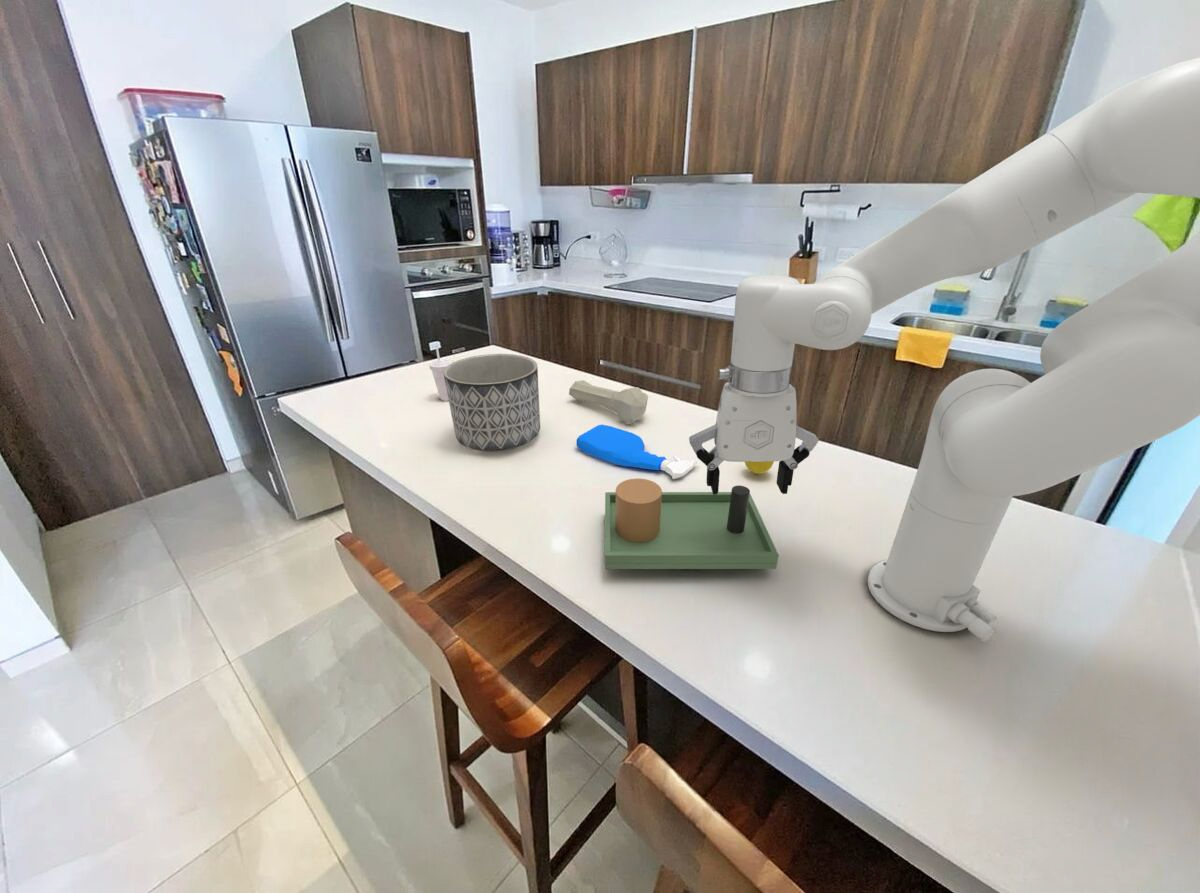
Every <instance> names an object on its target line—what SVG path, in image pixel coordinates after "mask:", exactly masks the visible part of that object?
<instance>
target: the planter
mask: <svg viewBox="0 0 1200 893" xmlns="http://www.w3.org/2000/svg"><path fill="white" fill-rule="evenodd" d="M538 368H539V367H538V363H537V362H536V360H534V359H533V358H530V357H527V356H525V355H520V354H513V353H488V354H479V355H473V356H469V357H465V358H462V359H458V360H456V361H454V363H452V364H450V365H448V366H447V367H446V368H445V369H444V372H443V374H444V379H445V384H446V389H447V394H448V399H449V400H448V405H449V410H450V413H451V418H452V426H453V429H454V435H455V438H456V440H457V441H458V443H460V444H461V445H462V446H463V447H466V448H468V449H472V450H475V451H483V452H499V451H506V450H511V449H514V448H518V447H522V446H524V445H526V444H528V443H531V441H533V440H534V439H535V438H536V437H537V436H538V435H539V434H540V430H541V414H540V413H541V412H540V392H539V370H538Z"/></svg>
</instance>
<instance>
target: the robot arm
mask: <svg viewBox="0 0 1200 893" xmlns="http://www.w3.org/2000/svg"><path fill="white" fill-rule="evenodd" d="M1136 194H1152V195H1154V194H1155V195H1163V196H1164V195H1165V196H1177V197H1185V198H1186V197H1187V198H1188V197H1189V198H1198V199H1199V198H1200V56H1198V57H1196V58H1191V59H1187V60H1184V61H1181V62H1177V63H1175V64H1172V65H1170V66H1167V67H1164V68H1162V69H1160V70H1157V71H1154V72H1151V73H1150V74H1149V73H1148V74H1147V75H1143V76H1141V77H1139V78H1136V79H1134V80H1132V81H1130V82H1128V83H1126V84H1124V85H1122V86H1120V87H1118V88H1116V89H1115V90H1113V91H1111V92H1109V93H1108V94H1106V95H1104V96H1103V97H1101V98H1099V99H1098V100H1096V101H1095V102H1093V103H1091V104H1090V105H1088V106H1087V107H1085V108H1084V109H1082V110H1081V111H1079V112H1077V113H1076V114H1074V115H1072V117H1069V118H1068V119H1067V120H1065V121H1063V122H1062V123H1061V124H1059V125H1057V126H1056V127H1054V128H1051V130H1049V131H1048V132H1046V133H1045V134H1042V135H1041V136H1040V137H1038V138H1037V139H1035V140H1033V141H1032V142H1030V143H1028V144H1027V145H1025V146H1024V147H1022V148H1021V149H1020V150H1018V151H1016V152H1014V153H1013V154H1011V155H1010V156H1008V157H1006V158H1005V159H1003V160H1002V161H1001V162H999V163H997V164H996V165H994V166H993V167H991V168H990V169H988V170H986V171H984V172H983V173H981V174H979V175H978V176H977V177H975V178H974V179H973V178H972V179H971V180H970V181H969V182H967V183H965V184H964V185H962V186H960V187H959V188H957V189H956V190H954V191H952V192H951V193H950V194H948V195H946V196H945V197H943V198H941V199H940V200H938V201H937V202H935V203H933V204H932V205H931V206H928V207H927V208H926V209H925V210H923V211H922V212H921V213H919V214H917V215H916V216H915V217H913V218H911V219H910V220H908V221H907V222H905V223H904V224H901V225H900V226H898V227H897V228H896V229H894V230H892V231H891V232H888V233H887V234H886V235H884V236H882V237H881V238H879V239H878V240H876V241H874V242H873V243H871V244H870V245H867V246H866V247H865V248H863V249H861V250H860V251H859V252H857V253H855V254H854V255H852V256H850V257H849V258H847V259H846V260H844V261H843V262H841V263H839V264H838V265H836V266H834V267H833V268H832V269H830V270H828V271H827V272H825V273H824V274H822V275H821V276H820V277H819V278H818V279H817V280H816V281H814V282H813V283H803V284H802V283H800V281H799V280H798V279H796V278H794V277H791V276H788V275H778V274H777V275H776V274H761V275H754V276H753V275H752V276H748V277H746V278H744V279H742V280H741V281H740V282H739V284H738V285H737V287H736V291H735V302H734V315H733V325H732V326H733V329H732V341H731V352H730V353H731V354H730V361H728V362H729V364H728V365H727V367H724V368H719V369H718V380H724V381H727V382H725V383H724V385H723V388H722V391H721V395H720V398H719V402H718V407H717V408H718V409H717V414H716V419H715V424H713V425H712V426H710V427H707V428H705V429H703V430H701V431H699V432H696V433H694V434H692V435H690V436H689V437H688V440H689V444H690V446H691V448H692V450H693V452H694V454H695V455H696V458H697V459H698V460H700V462H701V463H703V464H704V465H705V466H706V486H707V487H710V488H711V492H712V493H713V494H717V493H718V492H719V489H720V488H719V486H720V476H721V475H720V473H721V471H720V468H719V466H720V465H721V464H722V463H723V462H724V461H725V462H731V463H732V462H734V463H735V462H736V463H743V462H744V463H745V462H764V461H774V462H778V467H777V473H776V474H777V475H776V485H777V487H778V490H779V491H780V493H781V494H782V495H787V494H788V490H789V486H790V487H791V486H792V483H793V478H794V471H795V470H796V469H798V467H799V464H801V463H802V462H803V461H804V460H806V459H807V458H808V457H809V456H810V453H811V452H812V450H814V449H815V447H816V446H817V444H818V443H819V442H820V441H819V438H818V437H817V435H816V434H815V433H813V432H811V431H809V430H807V429H805V428H802V427H801V426H799V425H797V416H798V415H797V414H798V413H797V412H798V410H797V409H798V404H797V391H796V390H797V389H796V388H795V387H794V386H793V385H792V384H791V383H790V382H791V375H792V368H793V361H794V354H795V345H801V346H805V347H808V348H812V349H818V350H825V351H837V350H842V349H846V348H848V347H851V346H852V345H854V344H855V343H857V342H858V341H859V340H860V339H862V337H863V336H864V335H865V334H866V332H867V330H868V328H869V326H870V324H871V320H872V315H873V314H875V313H876V312H878V311H880V310H882V309H884V308H886V307H887V306H890V305H891V304H893V303H894V302H896V301H898V300H900V299H902V298H904V297H905V296H907V295H909V294H912V293H914V292H916V291H918V290H921V289H922V288H926V287H927V286H930V285H932V284H935V283H938V282H940V281H944V280H948V279H951V278H952V279H953V278H957V277H964V276H969V275H975V274H978V273H981V272H985V271H987V270H991V269H993V268H996V267H999V266H1001V265H1003V264H1005V263H1007V262H1009V261H1012V260H1013V259H1015V258H1016V257H1018V256H1020V255H1022V254H1024V253H1026V252H1029V251H1030V250H1031V249H1033V248H1035V247H1037V246H1038V245H1040V244H1042V243H1044V242H1046V241H1048V240H1050V239H1052V238H1053V237H1055V236H1057V235H1059V234H1061V233H1063V232H1065V231H1066V230H1069V229H1071V228H1073V227H1075V226H1077V225H1078V224H1080V223H1082V222H1083V221H1086V220H1088V219H1089V218H1091V217H1094V216H1096V215H1098V214H1100V213H1102V212H1104V211H1106V210H1108V209H1110V208H1111V207H1113V206H1115V205H1117V204H1119V203H1121V202H1122V201H1124V200H1127V199H1128V198H1131V197H1132V196H1134V195H1136ZM1039 356H1040V357H1039V358H1040V364H1041V366H1042V368H1043V371H1044V373H1045V374H1044V375H1042V376H1040V377H1038V378H1037V379H1036V380H1034V381H1032V382H1030V381H1029V380H1028V379H1026V378H1025V377H1024V376H1021V375H1020V374H1017V373H1014V372H1012V371H1009V370H1007V369H1001V368H982V369H976V370H973V371H969V372H966V373H964V374H962V375H960V376H959V377H957V378H955V379H954V380H952V381H951V382H950V383H949V384H948V385H946V387H945V388H944V389H943V390H942V391H941V393H940V394H939V396H938V397H937V399H936V402H935V404H934V407H933V409H932V412H931V416H930V419H929V423H928V424H929V425H928V428H927V432H926V437H925V440H924V445H923V450H922V453H921V457H920V460H919V464H918V466H917V467H918V468H917V471H916V473H915V476H914V478H913V483H912V486H911V489H910V492H909V494H908V498H907V501H906V503H905V506H904V509H903V513H902V515H901V518H900V522H899V525H898V528H897V530H896V534H895V536H894V540H893V542H892V545H891V549H890V551H889V555H888V557H887V560H883V561H880V562H877V563H876V564H875V565H873V566H872V567H871V569H870V571H869V573H868V576H867V586H868V590H869V592H870V593H871V595H872V597H873V598H874V600H875V601H876V602H877V603H878V604H879V605H880V606H881V607H882V608H883V609H885V611H887V612H888V613H890V614H891V615H893V616H895V618H898V619H899V620H901V621H903V622H905V623H907V624H910V625H912V626H915V627H917V628H921V629H924V630H928V631H933V632H941V633H955V632H959V631H963V630H965V629H967V630H968V631H969V632H970V633H972V634H973V635H974V636H976V637H978V638H979V639H980V640H981V641H983V642H986V641H987V640H989V639H990V638H991V637H992V636H993V635H994V634H995V631H996V628H994V627H993V626H992V625H994V623H996V621H997V620H998V617H997V616H996V615H994V614H993V613H991V612H990V611H989V610H987V609H985V608H984V607H982V606H981V605H980V602H979V601H977V600H978V598H979V596H980V594H981V589H980V588H978V587H977V586H975V585H974V583H975V581H976V579H977V576H978V574H979V572H980V570H981V567H982V565H983V563H984V561H985V558H986V556H987V554H988V552H989V549H990V548H991V545H992V544H993V542H994V539H995V536H996V535H997V532H998V530H999V528H1000V526H1001V523H1002V521H1003V519H1004V517H1005V515H1006V513H1007V511H1008V508H1009V506H1010V503H1012V502H1011V501H1012V499H1013V497H1018V496H1025V495H1030V494H1033V493H1036V492H1040V491H1043V490H1046V489H1049V488H1051V487H1055V486H1056V485H1059V484H1062V483H1063V482H1066V481H1068V480H1071V479H1073V478H1075V477H1077V476H1080V475H1082V474H1085V473H1086V472H1088V471H1091V470H1093V469H1095V468H1097V467H1099V466H1102V465H1104V464H1106V463H1108V462H1111V461H1113V460H1115V459H1117V458H1120V457H1122V456H1124V455H1127V454H1129V453H1131V452H1133V451H1135V450H1137V449H1139V448H1142V447H1145V446H1146V445H1149V444H1150V443H1152V442H1155V441H1157V440H1160V439H1161V438H1164V437H1165V436H1167V435H1170V434H1172V433H1173V432H1175V431H1177V430H1179V429H1181V428H1183V427H1185V426H1186V425H1189V423H1191V422H1192V421H1194V420H1195V419H1197V418H1198V417H1199V416H1200V231H1199V232H1197V233H1196V234H1195V235H1194V236H1193V237H1191V238H1190V239H1189V240H1188V241H1186V242H1185V243H1183V244H1182V245H1181V246H1180V247H1178V248H1177V249H1175V250H1173V251H1172V252H1170V253H1169V254H1168V255H1167V256H1165V257H1164V258H1162V259H1161V260H1159V261H1158V262H1156V263H1154V264H1153V265H1151V266H1150V267H1149V268H1147V269H1145V270H1143V271H1142V272H1140V273H1138V274H1137V275H1135V276H1134V277H1132V278H1131V279H1130V280H1127V281H1125V283H1122V284H1121V285H1119V286H1118V287H1116V288H1115V289H1113V290H1112V291H1110V292H1107V294H1105V295H1103V296H1101V297H1100V298H1098V299H1097V300H1095V301H1094V302H1092V303H1090V304H1089V305H1086V306H1085V307H1084V308H1082V309H1080V310H1078V311H1077V312H1075V313H1073V314H1072V315H1070V316H1069V317H1067V318H1065V319H1064V320H1063V321H1061V322H1060V323H1059V324H1058V325H1057V326H1055V327H1054V328H1053V329H1052V330H1051V331H1050V332H1049V333H1048V334H1047V336H1046V337H1045V339H1044V340H1043V342H1042V344H1041V347H1040V354H1039ZM796 439H798V440H800V441H802V442H801V444H800V445H798V446H797V447H796ZM711 440H714V447H713V448H712V449H711V450H710V451H709V450H706V448H705V447H704V446H703V444H704V443H707V442H708V441H711ZM795 447H796V448H795Z"/></svg>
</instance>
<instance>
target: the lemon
mask: <svg viewBox="0 0 1200 893" xmlns="http://www.w3.org/2000/svg"><path fill="white" fill-rule="evenodd" d="M774 462H775V461H764V462H744V465H745V466H746V468H747V469H748V470H749V471H750V472H752V473H754V475H759V474H763V473H766V472H768V471H769V470H771V469H772V467H773V464H774Z"/></svg>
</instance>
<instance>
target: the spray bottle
mask: <svg viewBox="0 0 1200 893" xmlns="http://www.w3.org/2000/svg"><path fill="white" fill-rule="evenodd" d="M575 445H576V447H577V448H578V450H580V451H581V452H583V453H585V454H587V455H589V456H591V457H594V458H596V459H599V460H601V461H605V462H607V463H610V464H613V465H617V466H622V467H626V468H629V467H632V468H638V469H643V470H644V469H645V470H654V471H663V472H665V473H667V474H669V475H670V476H671V479H672V480H676V479H678V478H679V479H680V478H683V477H684V476H686V474H688V473H689V472H690V471H692V470H693V469H694V468H695V466H696V465H697V464H698V461H697V459H692V460H688V459H687V460H682V459H680V458H679V457H678V456H676V455H675V454H673V455H672V458H673V460H672V461H671V460H669V459H667V458H666V457H665V456H658V455H657V454H654V453H651V452H649V451H645V443H644V440H643V438H641V437H640V435H637V434H635V433H634V432H631V431H627V430H624V429H621V428H618V427H615V426H612V425H607V424H597V425H596V426H594V427H592V428H591V429H589V430H587V431H585V432H584V433H582V434H580V435H578V437H577V438H576V443H575Z"/></svg>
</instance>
